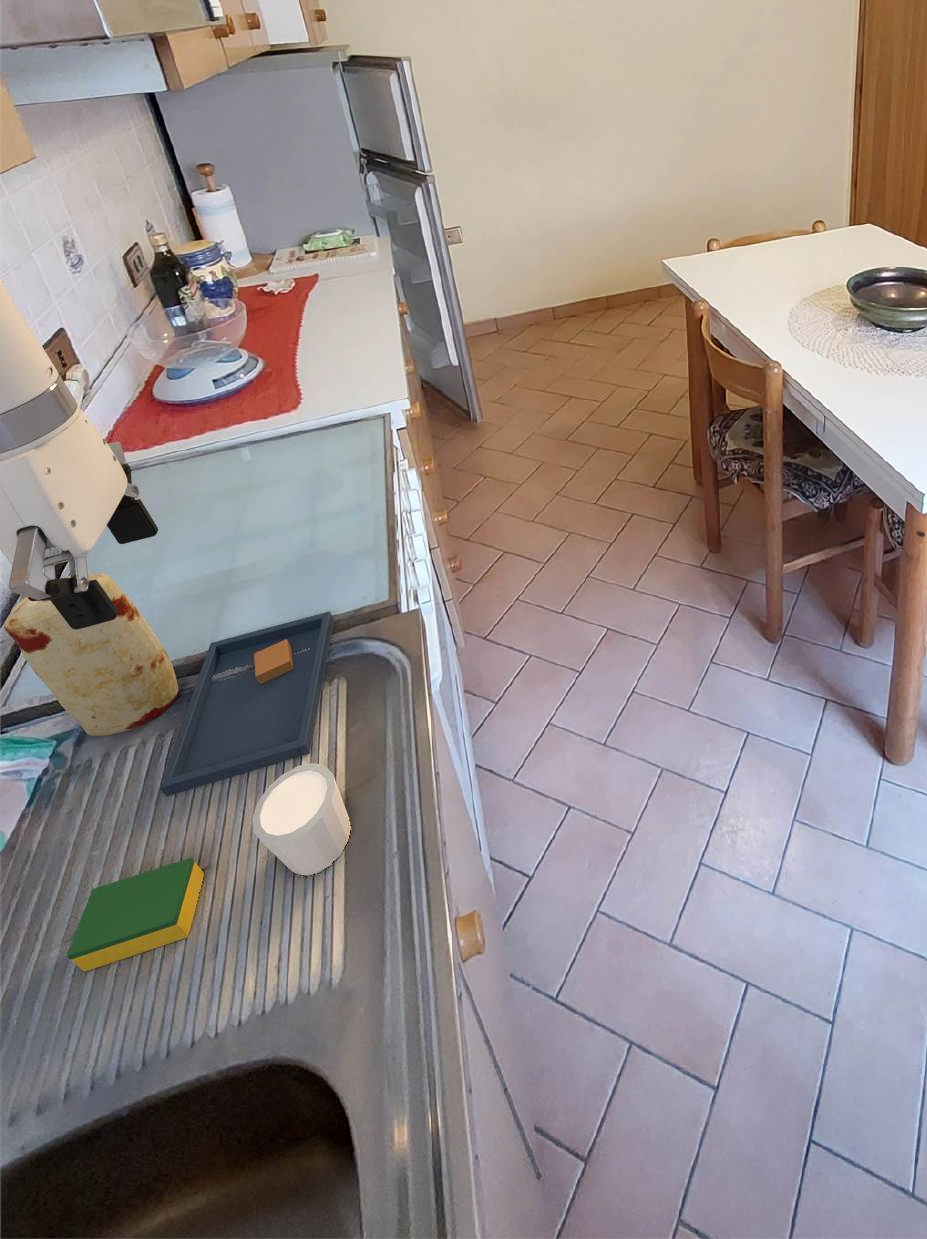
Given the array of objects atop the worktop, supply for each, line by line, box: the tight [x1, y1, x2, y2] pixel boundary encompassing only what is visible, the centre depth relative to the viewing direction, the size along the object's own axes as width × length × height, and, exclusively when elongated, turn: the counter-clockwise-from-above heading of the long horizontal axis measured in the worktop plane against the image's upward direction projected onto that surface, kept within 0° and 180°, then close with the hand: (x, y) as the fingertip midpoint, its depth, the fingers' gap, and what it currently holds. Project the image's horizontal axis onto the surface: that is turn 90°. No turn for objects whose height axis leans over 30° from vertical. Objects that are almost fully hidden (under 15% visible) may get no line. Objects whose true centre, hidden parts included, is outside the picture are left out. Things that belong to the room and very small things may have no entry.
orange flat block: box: [254, 639, 294, 684], centre depth 85 cm, size 4×4×2 cm
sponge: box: [66, 857, 205, 973], centre depth 63 cm, size 8×5×3 cm, turn 105°
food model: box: [3, 572, 179, 737], centre depth 77 cm, size 10×7×20 cm
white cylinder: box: [251, 762, 352, 875], centre depth 66 cm, size 7×7×7 cm
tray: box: [159, 611, 335, 797], centre depth 81 cm, size 14×18×2 cm
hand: (119, 577), depth 62 cm, fingers open, 9 cm apart
